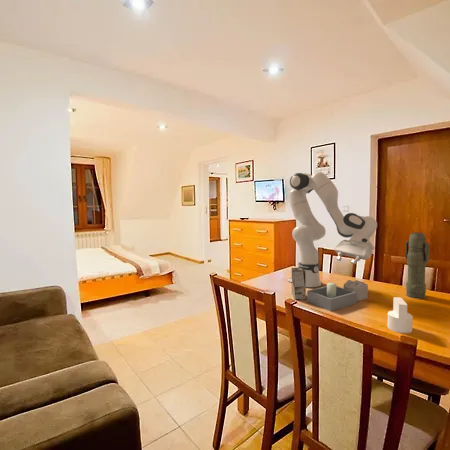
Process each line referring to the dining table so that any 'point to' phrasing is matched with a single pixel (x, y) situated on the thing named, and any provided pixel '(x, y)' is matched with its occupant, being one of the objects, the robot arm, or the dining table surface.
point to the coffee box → (298, 283)
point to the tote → (340, 301)
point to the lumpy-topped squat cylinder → (357, 289)
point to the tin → (331, 290)
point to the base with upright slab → (399, 317)
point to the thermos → (416, 265)
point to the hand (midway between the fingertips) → (345, 261)
